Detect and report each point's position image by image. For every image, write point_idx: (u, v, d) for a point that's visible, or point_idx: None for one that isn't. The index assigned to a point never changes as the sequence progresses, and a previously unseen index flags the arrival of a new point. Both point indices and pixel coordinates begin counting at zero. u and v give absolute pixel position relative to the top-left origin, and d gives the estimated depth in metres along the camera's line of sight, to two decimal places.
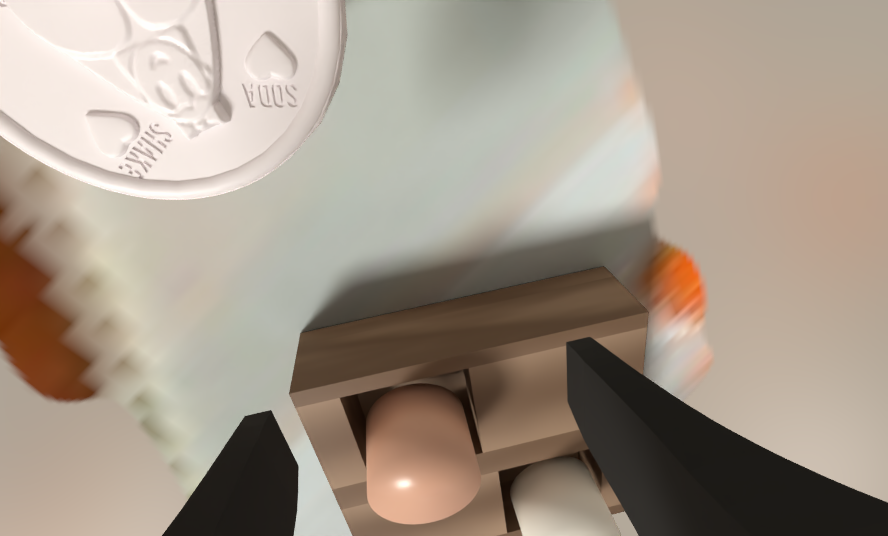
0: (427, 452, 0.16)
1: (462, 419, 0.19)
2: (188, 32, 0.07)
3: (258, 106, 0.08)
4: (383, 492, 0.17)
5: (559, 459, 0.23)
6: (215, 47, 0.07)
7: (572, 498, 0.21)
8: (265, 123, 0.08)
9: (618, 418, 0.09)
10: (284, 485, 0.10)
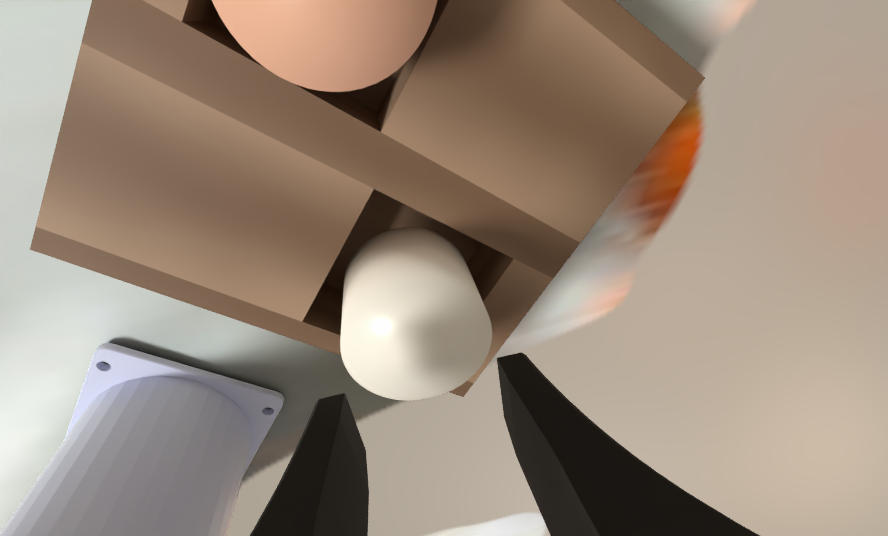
0: None
1: None
2: None
3: None
4: None
5: (451, 243, 0.15)
6: None
7: (459, 271, 0.13)
8: None
9: (534, 438, 0.09)
10: (359, 467, 0.10)
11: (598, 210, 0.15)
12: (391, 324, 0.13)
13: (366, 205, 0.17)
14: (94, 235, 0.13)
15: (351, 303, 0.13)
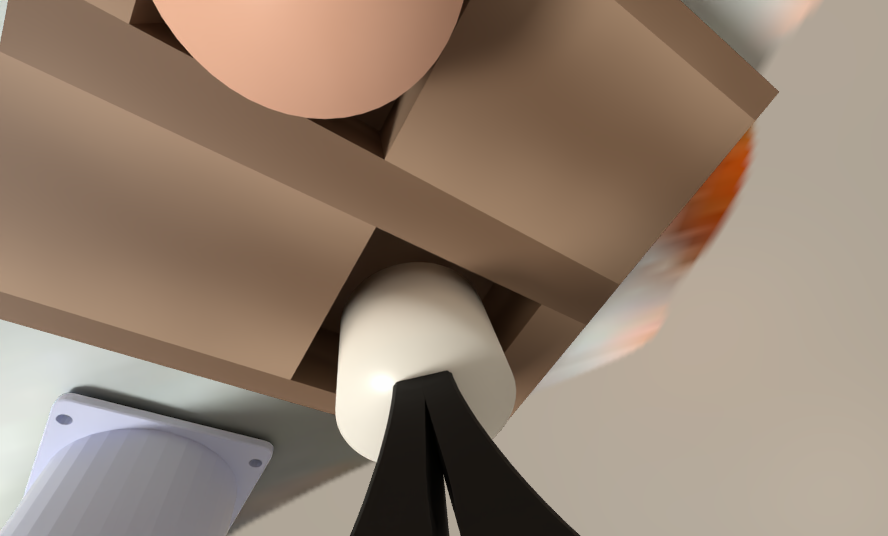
0: None
1: None
2: None
3: None
4: None
5: (465, 280, 0.13)
6: None
7: (476, 319, 0.11)
8: None
9: (442, 461, 0.09)
10: (436, 448, 0.10)
11: (643, 248, 0.13)
12: None
13: None
14: (31, 287, 0.11)
15: (349, 361, 0.11)
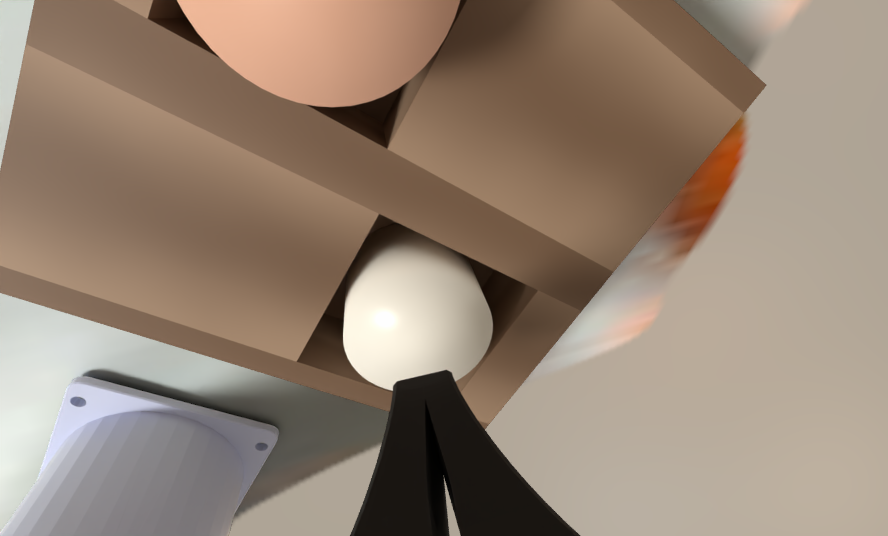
0: None
1: None
2: None
3: None
4: None
5: None
6: None
7: (460, 264, 0.14)
8: None
9: (442, 461, 0.09)
10: (437, 448, 0.10)
11: (636, 236, 0.13)
12: (393, 316, 0.13)
13: None
14: (52, 269, 0.11)
15: (354, 295, 0.13)
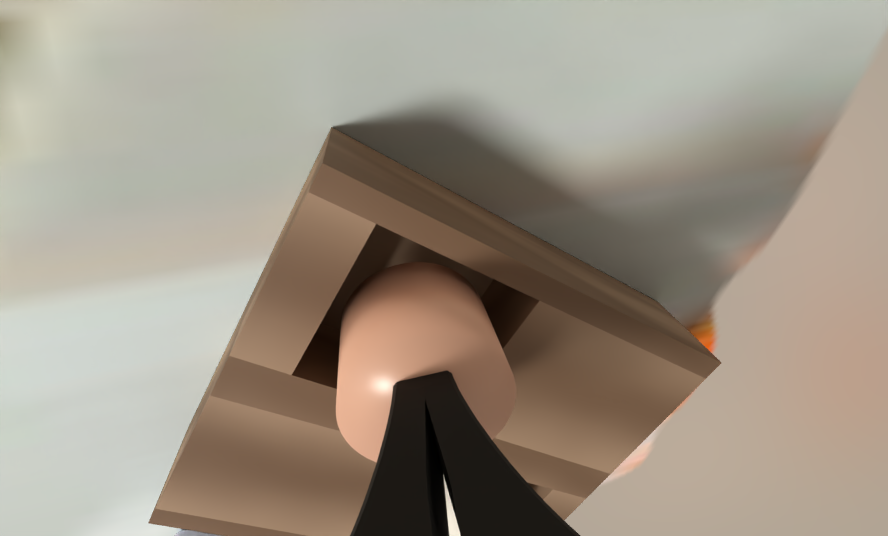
0: (487, 354, 0.11)
1: None
2: None
3: None
4: (378, 377, 0.10)
5: None
6: None
7: None
8: None
9: (442, 461, 0.09)
10: (437, 448, 0.10)
11: (627, 452, 0.18)
12: None
13: None
14: (202, 509, 0.15)
15: None
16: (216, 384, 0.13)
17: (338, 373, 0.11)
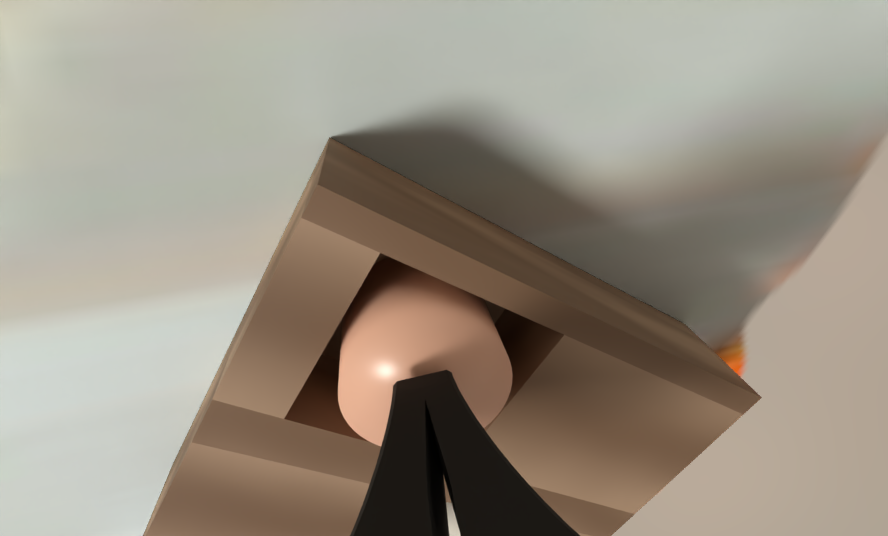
0: (484, 340, 0.11)
1: None
2: None
3: None
4: (379, 361, 0.11)
5: None
6: None
7: None
8: None
9: (442, 461, 0.09)
10: (437, 448, 0.10)
11: (653, 491, 0.16)
12: None
13: None
14: None
15: None
16: (198, 430, 0.12)
17: (340, 358, 0.12)
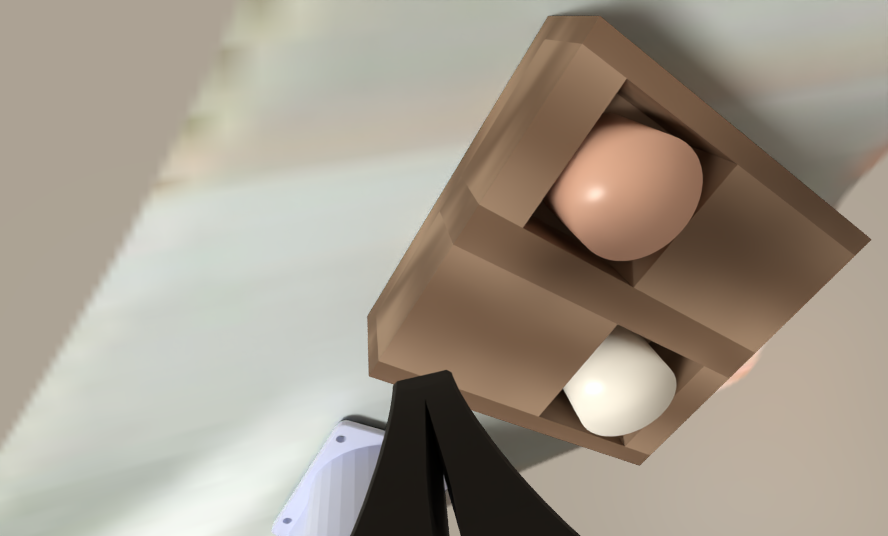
0: (689, 155, 0.14)
1: None
2: None
3: None
4: (612, 170, 0.14)
5: None
6: None
7: (652, 349, 0.20)
8: None
9: (443, 461, 0.09)
10: (437, 448, 0.10)
11: (774, 330, 0.20)
12: (615, 388, 0.19)
13: None
14: (415, 364, 0.17)
15: (589, 374, 0.19)
16: (461, 233, 0.15)
17: (568, 179, 0.15)
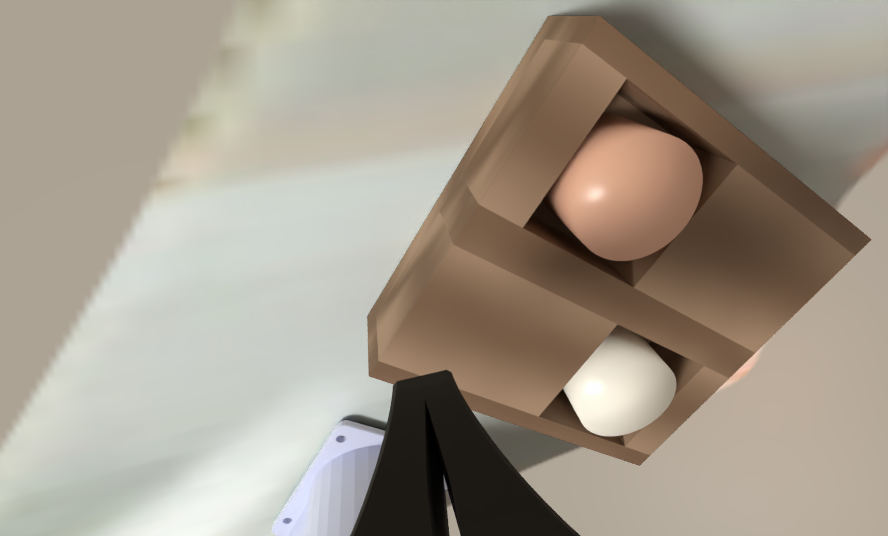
0: (689, 155, 0.14)
1: None
2: None
3: None
4: (612, 170, 0.14)
5: None
6: None
7: (652, 349, 0.20)
8: None
9: (443, 461, 0.09)
10: (437, 448, 0.10)
11: (774, 330, 0.20)
12: (615, 388, 0.19)
13: None
14: (415, 364, 0.17)
15: (589, 374, 0.19)
16: (461, 233, 0.15)
17: (568, 179, 0.15)
